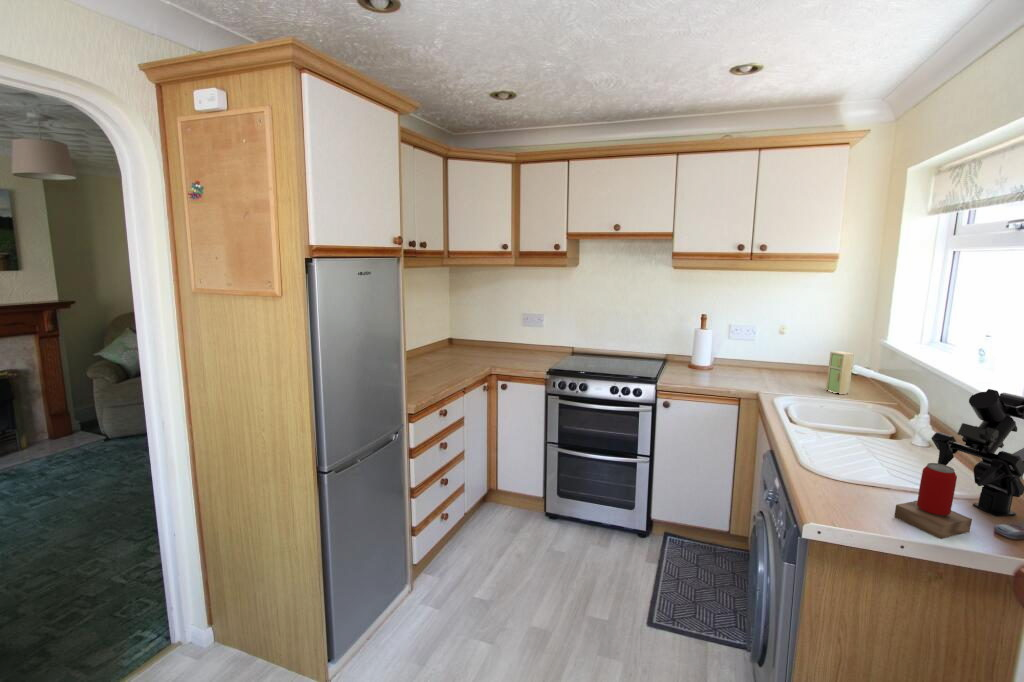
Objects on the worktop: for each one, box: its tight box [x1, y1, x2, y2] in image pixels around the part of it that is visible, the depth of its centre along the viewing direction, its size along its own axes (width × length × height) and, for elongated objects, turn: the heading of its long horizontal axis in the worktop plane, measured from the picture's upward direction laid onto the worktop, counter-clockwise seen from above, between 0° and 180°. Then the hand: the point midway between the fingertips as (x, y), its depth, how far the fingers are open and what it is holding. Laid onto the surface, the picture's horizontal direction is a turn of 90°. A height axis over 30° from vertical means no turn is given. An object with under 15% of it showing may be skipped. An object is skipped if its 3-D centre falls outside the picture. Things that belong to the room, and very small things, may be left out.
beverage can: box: [916, 462, 958, 516], centre depth 131 cm, size 7×7×12 cm
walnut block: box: [893, 500, 973, 540], centre depth 132 cm, size 11×11×4 cm
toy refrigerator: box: [825, 350, 855, 393], centre depth 261 cm, size 8×7×21 cm
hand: (957, 477), depth 133 cm, fingers open, 9 cm apart
